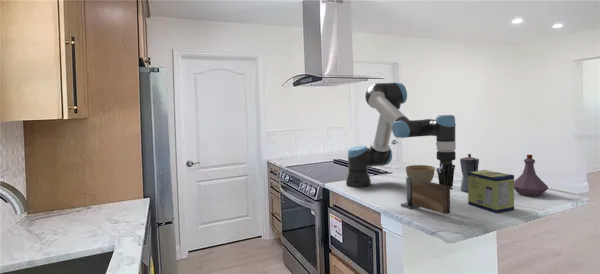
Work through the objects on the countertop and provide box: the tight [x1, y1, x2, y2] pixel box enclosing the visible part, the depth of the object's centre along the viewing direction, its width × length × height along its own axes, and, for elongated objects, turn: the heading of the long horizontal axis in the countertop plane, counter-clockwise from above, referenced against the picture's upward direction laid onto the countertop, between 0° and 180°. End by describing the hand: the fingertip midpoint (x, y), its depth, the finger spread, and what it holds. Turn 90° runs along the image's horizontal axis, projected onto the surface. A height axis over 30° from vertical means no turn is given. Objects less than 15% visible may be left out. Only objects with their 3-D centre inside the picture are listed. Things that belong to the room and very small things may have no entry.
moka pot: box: [459, 153, 480, 193], centre depth 176 cm, size 10×15×20 cm, turn 174°
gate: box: [411, 179, 451, 215], centre depth 145 cm, size 3×18×12 cm, turn 31°
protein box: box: [467, 169, 515, 214], centre depth 148 cm, size 10×16×16 cm
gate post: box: [400, 176, 420, 210], centre depth 154 cm, size 6×6×14 cm
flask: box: [514, 154, 549, 198], centre depth 166 cm, size 16×16×20 cm
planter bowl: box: [405, 164, 436, 182], centre depth 194 cm, size 16×16×11 cm
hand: (446, 203), depth 145 cm, fingers closed
